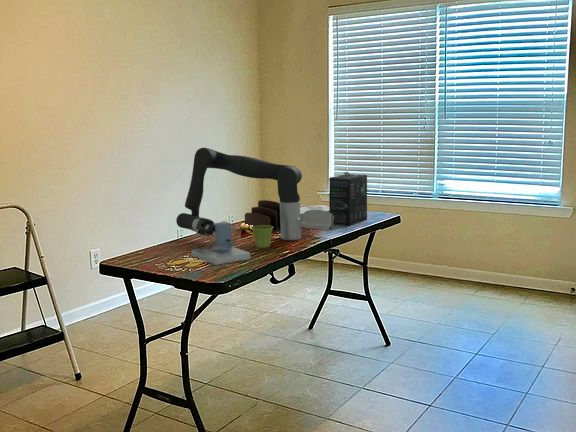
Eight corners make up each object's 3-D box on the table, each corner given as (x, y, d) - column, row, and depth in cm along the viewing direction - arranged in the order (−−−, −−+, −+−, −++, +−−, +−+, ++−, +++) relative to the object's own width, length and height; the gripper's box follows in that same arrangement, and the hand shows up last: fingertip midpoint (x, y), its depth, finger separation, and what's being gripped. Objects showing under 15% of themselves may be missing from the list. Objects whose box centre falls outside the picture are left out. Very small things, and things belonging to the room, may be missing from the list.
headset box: (347, 217, 344) (347, 169, 339) (367, 219, 338) (368, 170, 333) (328, 224, 325) (327, 174, 320) (349, 226, 319) (349, 175, 314)
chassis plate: (191, 255, 263) (191, 249, 262) (225, 250, 272) (225, 244, 271) (215, 265, 246) (214, 258, 246) (250, 258, 255) (250, 252, 255)
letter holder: (259, 225, 326) (259, 198, 324) (285, 231, 311) (284, 202, 309) (244, 228, 320) (243, 200, 317) (269, 234, 305) (269, 204, 302)
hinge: (299, 227, 320) (302, 207, 321) (303, 228, 324) (306, 209, 325) (329, 229, 311) (332, 209, 312) (333, 231, 315) (336, 211, 316)
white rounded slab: (269, 219, 347) (269, 210, 346) (322, 213, 360) (322, 205, 360) (284, 224, 330) (284, 215, 329) (339, 218, 344) (339, 209, 343)
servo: (215, 247, 277) (213, 220, 275) (223, 246, 279) (222, 219, 278) (226, 250, 269) (224, 222, 267) (235, 249, 271) (233, 221, 270)
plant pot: (271, 249, 272) (271, 229, 270) (250, 248, 273) (249, 229, 272) (275, 244, 281) (275, 225, 279) (254, 244, 282) (254, 225, 281)
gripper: (188, 219, 285) (205, 225, 271) (217, 216, 293) (234, 221, 279) (189, 236, 286) (206, 242, 273) (217, 232, 294) (235, 237, 281)
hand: (220, 231), depth 276 cm, fingers open, 8 cm apart
